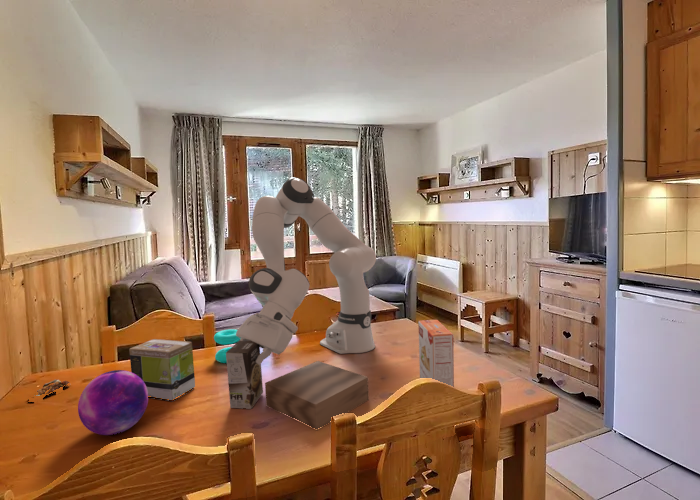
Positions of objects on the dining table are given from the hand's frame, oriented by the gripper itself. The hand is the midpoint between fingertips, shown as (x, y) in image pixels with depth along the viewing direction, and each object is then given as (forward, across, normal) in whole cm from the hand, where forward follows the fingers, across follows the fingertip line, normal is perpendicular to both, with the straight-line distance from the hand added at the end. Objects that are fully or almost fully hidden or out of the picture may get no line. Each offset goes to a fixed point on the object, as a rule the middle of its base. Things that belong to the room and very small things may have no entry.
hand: (246, 358), depth 114 cm
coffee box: (+9, 0, +8) cm, 12 cm away
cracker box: (-16, +40, +32) cm, 54 cm away
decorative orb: (+30, -11, -13) cm, 35 cm away
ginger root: (+36, -51, -18) cm, 65 cm away
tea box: (+19, -24, -1) cm, 31 cm away
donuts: (0, -34, +18) cm, 38 cm away
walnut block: (0, +16, +17) cm, 24 cm away
